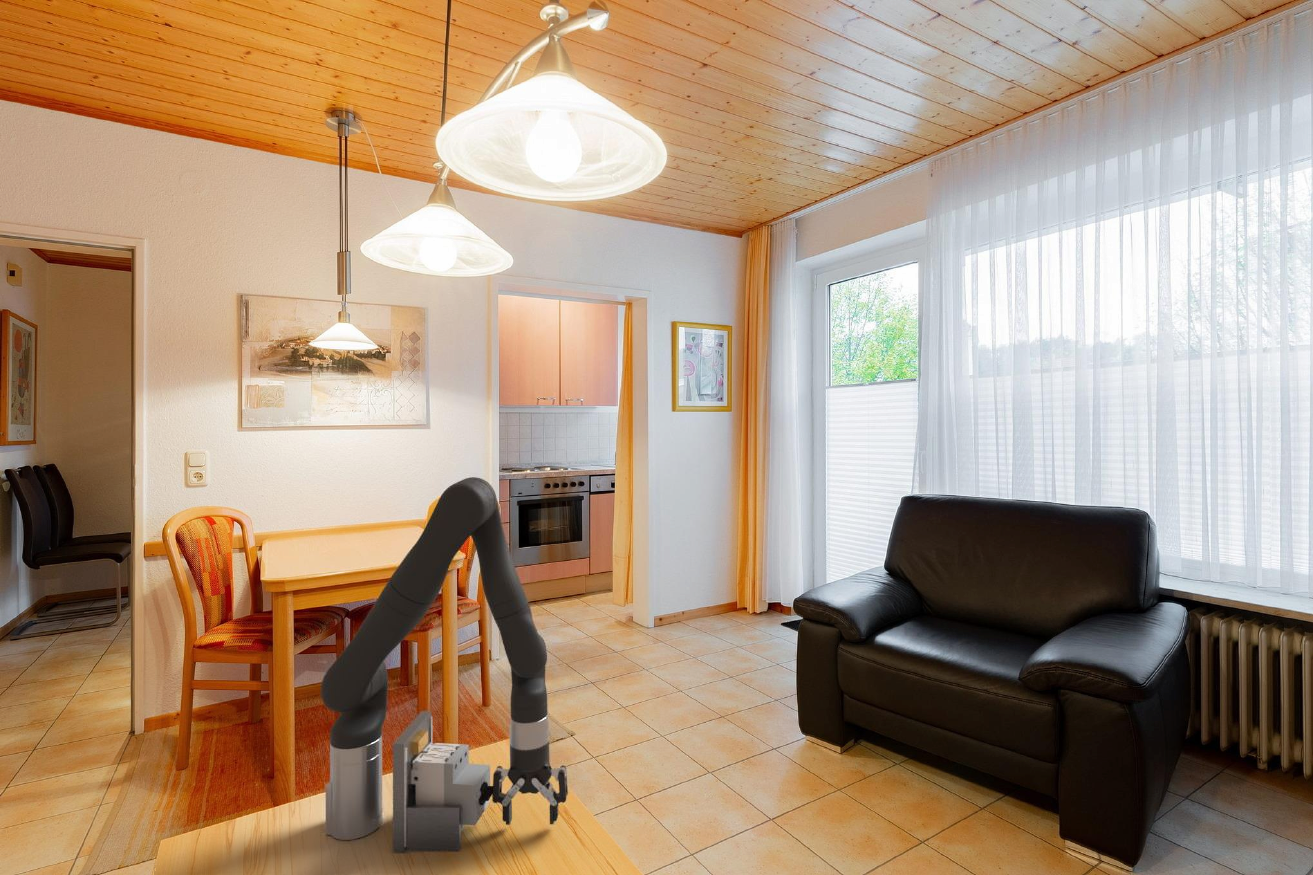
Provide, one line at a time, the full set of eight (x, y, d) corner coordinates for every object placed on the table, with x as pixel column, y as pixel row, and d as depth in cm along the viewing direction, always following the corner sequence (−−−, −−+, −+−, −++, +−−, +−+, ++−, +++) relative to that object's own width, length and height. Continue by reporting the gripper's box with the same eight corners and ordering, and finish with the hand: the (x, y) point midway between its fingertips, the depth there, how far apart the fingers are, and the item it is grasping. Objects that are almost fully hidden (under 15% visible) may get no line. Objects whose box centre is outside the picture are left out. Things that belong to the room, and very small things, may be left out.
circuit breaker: (484, 845, 119) (484, 765, 119) (411, 840, 121) (411, 761, 121) (498, 821, 127) (498, 746, 127) (429, 817, 128) (429, 742, 128)
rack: (393, 852, 117) (392, 743, 117) (421, 808, 131) (421, 710, 131) (458, 853, 117) (458, 743, 117) (480, 808, 131) (479, 711, 131)
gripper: (487, 748, 120) (489, 834, 121) (563, 747, 120) (564, 833, 120) (497, 730, 128) (499, 811, 128) (569, 729, 128) (570, 810, 128)
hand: (530, 822), depth 124 cm, fingers open, 8 cm apart
